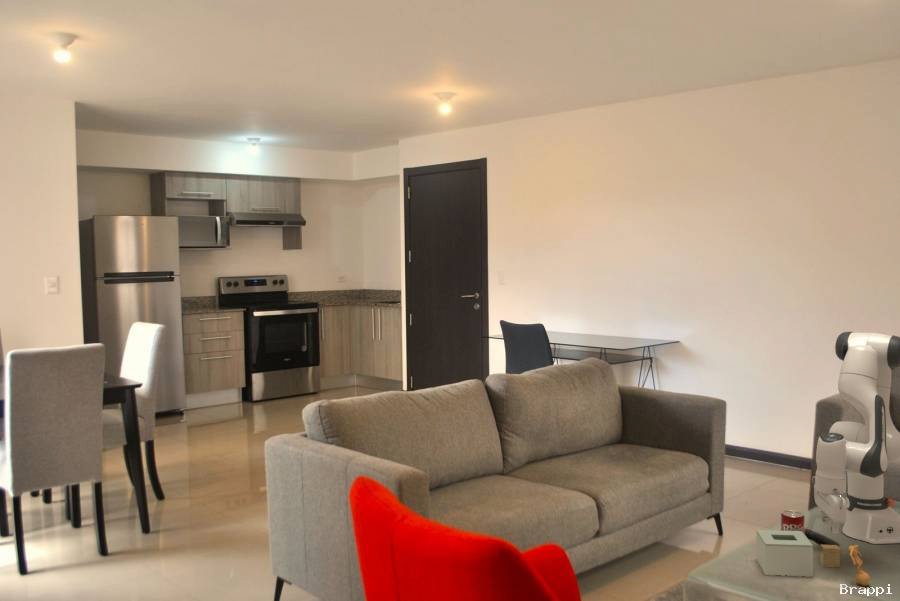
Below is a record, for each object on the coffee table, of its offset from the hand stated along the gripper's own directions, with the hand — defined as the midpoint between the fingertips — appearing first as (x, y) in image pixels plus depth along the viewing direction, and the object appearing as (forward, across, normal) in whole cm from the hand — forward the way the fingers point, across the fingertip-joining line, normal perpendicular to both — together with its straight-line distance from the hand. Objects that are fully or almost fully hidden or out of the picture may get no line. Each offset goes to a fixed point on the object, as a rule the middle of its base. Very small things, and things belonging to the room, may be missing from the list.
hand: (829, 527), depth 251 cm
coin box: (+13, -3, +14) cm, 20 cm away
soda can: (+12, +14, +8) cm, 20 cm away
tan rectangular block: (+12, +1, 0) cm, 12 cm away
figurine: (+13, -14, -4) cm, 19 cm away
